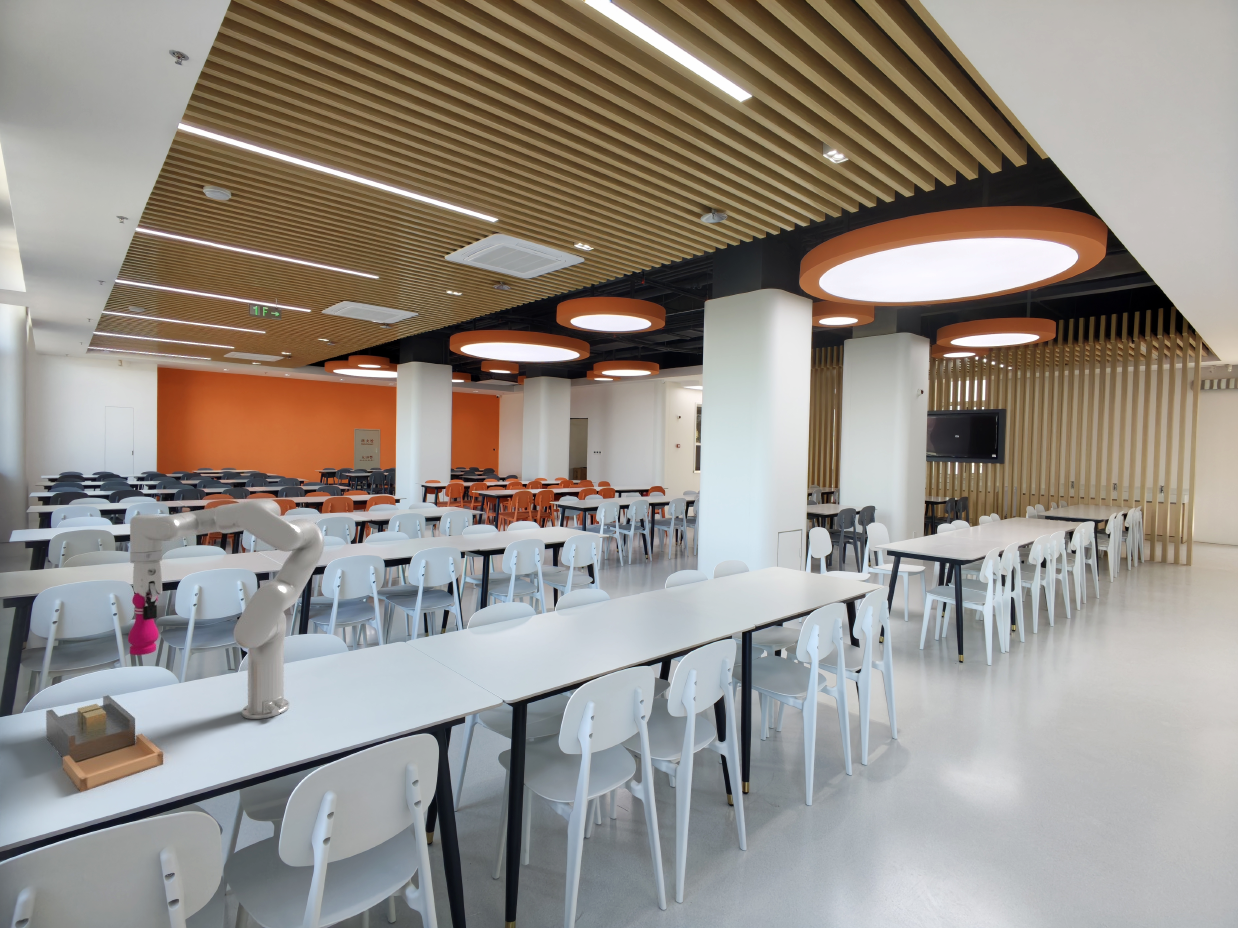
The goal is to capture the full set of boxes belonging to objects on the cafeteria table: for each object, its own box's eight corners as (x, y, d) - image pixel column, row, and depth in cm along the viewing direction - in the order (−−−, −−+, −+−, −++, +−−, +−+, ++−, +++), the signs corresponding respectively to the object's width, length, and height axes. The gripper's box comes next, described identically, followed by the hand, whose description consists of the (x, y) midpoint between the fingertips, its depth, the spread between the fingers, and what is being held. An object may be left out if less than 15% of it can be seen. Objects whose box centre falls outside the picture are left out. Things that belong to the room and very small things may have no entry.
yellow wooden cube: (106, 727, 163) (106, 712, 163) (86, 732, 160) (86, 717, 160) (101, 722, 166) (101, 708, 165) (82, 728, 162) (82, 713, 162)
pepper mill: (140, 657, 177) (143, 589, 177) (120, 653, 179) (123, 586, 178) (164, 649, 184) (167, 584, 184) (145, 645, 186) (147, 581, 185)
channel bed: (135, 745, 164) (135, 718, 163) (69, 766, 153) (69, 736, 153) (108, 720, 178) (108, 695, 178) (46, 737, 167) (46, 710, 167)
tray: (163, 763, 155) (163, 752, 154) (80, 791, 142) (80, 779, 142) (141, 744, 164) (141, 733, 164) (62, 768, 151) (62, 756, 151)
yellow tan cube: (100, 721, 166) (100, 707, 166) (81, 727, 163) (81, 712, 163) (96, 717, 169) (96, 703, 168) (77, 722, 165) (77, 708, 165)
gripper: (171, 558, 179) (171, 619, 179) (152, 551, 189) (152, 609, 190) (139, 562, 173) (139, 625, 173) (121, 554, 183) (122, 614, 184)
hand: (146, 616), depth 181 cm, fingers closed on pepper mill, 5 cm apart
